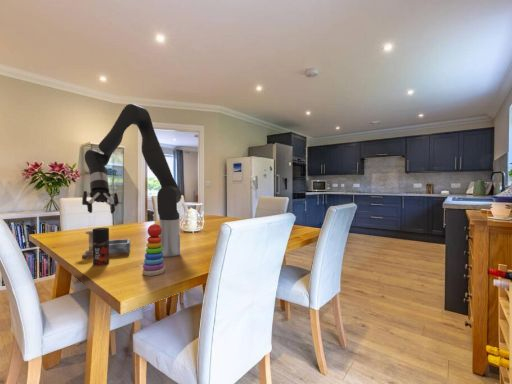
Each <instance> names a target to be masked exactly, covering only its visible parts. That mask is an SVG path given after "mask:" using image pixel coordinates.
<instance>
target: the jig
mask: <svg viewBox="0 0 512 384" xmlns="http://www.w3.org/2000/svg"><path fill="white" fill-rule="evenodd" d="M85 235H88V249H85V251H84V253H83V254H82V255H81V258H82V259H81V260H84V259H93V229H90V230H85ZM130 251H131V238H123V239H109V257H116V256H118V257H119V256H128V255H130Z"/></svg>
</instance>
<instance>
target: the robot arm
mask: <svg viewBox="0 0 512 384" xmlns="http://www.w3.org/2000/svg"><path fill="white" fill-rule="evenodd" d="M131 125H134V126H136V127H137V129H138V130H139V132H140V135H141V153H142V156H143V158H144V161H145V163H146V166H147V167H148V168H149V170H150V172H152V174H153V175H154V176H155V177H156V179H157V180H158V183H159V184H160V185H159V186H160V188H159V190H158V192H157V194H156V195H157V196H156V202H157V204H156V205H157V206H156V207H157V214H158V216H159V223H158V225H159V226H160V227H161V229H162V232H161V234H160V235H159V236H160V237H161V241H160V242H161V243H162V246H161V247H162V249H163V250H162V253H163V256H162V257H163V258H165V257H166V258H167V257H168V258H169V257H176V256H180V255H181V234H180V213H179V212H178V208H177V207H178V206H177V204H178V203H179V202H181V199H182V192H181V190H180V187H179V186H178V184H177V182H176V181H175V179H174V177H173V173H172V172H171V171H172V170H171V169H170V166H169V164H168V161H167V158H166V155H165V154H164V153H165V152H164V151H163V148H162V147H161V144H160V142H159V139H158V136H157V134H156V132H155V129H154V125H153V122H152V119H151V114H150V112H149V111H148V110H147V108H145V107H143V106H140V105H137V104H135V103H128V104H126V105H124V107H123V109H122V110H121V112H120V114H119V115H118V117H117V119H116V120H115V122H114V124H113V126H112V127H111V129H110V130H109V132H108V133H107V134H106V135H105V136H104V138H103V139H102V140H101V141H100V142H99V144H97V145H98V146H97V147H98V149H99V150H100V151H98V150H97V149H96V150H95V149H93V148H91V149H88V150H86V152H85V153H84V162H85V164H86V166H87V168H88V169H89V170H88V171H89V188H90V192H87V191H86V190H84V191H83V193H82V194H81V195H82V200H81V201H82V202H81V205H83V206H86V208H87V212H89V214H92V213H93V204H94V203H95V202H96V203H102V204H103V203H105V204H106V205H108V206H109V208H110V209H109V210H110V214H114V213H115V212H116V207H118V205H119V204H120V203H119V198H118V194H117V193H116V192H115V193H112V194H111V193H110V187H109V181H108V174H107V168H106V166H107V165H108V163H109V161H110V159H111V157H112V154H113V153H114V152H115V151H116V149H117V148H118V147H119V146H120V145H121V143H122V141H123V137H124V134H125V131H126V130H127V129H128V128H129V127H130V126H131ZM89 197H90V198H91V199H90V200H87V198H89Z"/></svg>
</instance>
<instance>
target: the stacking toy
mask: <svg viewBox="0 0 512 384" xmlns="http://www.w3.org/2000/svg"><path fill="white" fill-rule="evenodd" d="M161 232H162V229H161V227H160V226H159V224H156V223H154V224H150V225H149V226H148V228H147V235H148V236H149V237H147V243H146V249H145V253H144V259H143V265H142V270H141V272H142V275H144V276H148V277H149V276H150V277H153V276H159V275H162V274H164V273H165V267H164V266H165V263H164V260H165V259H164V257H163V253H162V250H163V249H162V247H161V246H162V243H161V242H160V241H161V237H160V236H159V235H160V234H161Z"/></svg>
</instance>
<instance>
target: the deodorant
mask: <svg viewBox="0 0 512 384" xmlns="http://www.w3.org/2000/svg"><path fill="white" fill-rule="evenodd" d="M92 230H93V258H92V266H93V267H103V266H108V265H109V264H110V256H109V240H110V228H109V227H96V228H93V229H92Z"/></svg>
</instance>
